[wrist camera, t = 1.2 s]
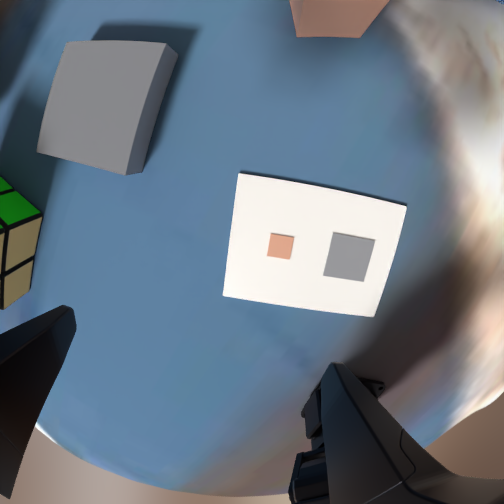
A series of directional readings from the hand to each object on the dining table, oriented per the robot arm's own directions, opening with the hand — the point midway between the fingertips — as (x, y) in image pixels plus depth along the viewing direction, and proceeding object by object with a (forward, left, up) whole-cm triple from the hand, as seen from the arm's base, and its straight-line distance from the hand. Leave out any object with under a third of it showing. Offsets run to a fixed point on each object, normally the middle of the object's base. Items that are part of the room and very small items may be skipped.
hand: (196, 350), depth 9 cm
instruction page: (-5, -1, -12) cm, 13 cm away
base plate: (+13, -7, -13) cm, 19 cm away
